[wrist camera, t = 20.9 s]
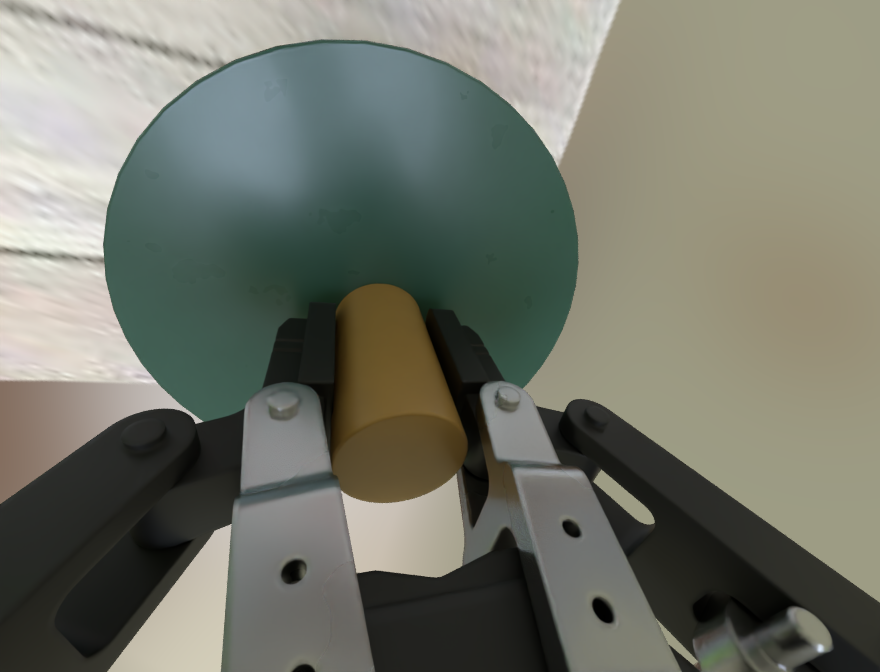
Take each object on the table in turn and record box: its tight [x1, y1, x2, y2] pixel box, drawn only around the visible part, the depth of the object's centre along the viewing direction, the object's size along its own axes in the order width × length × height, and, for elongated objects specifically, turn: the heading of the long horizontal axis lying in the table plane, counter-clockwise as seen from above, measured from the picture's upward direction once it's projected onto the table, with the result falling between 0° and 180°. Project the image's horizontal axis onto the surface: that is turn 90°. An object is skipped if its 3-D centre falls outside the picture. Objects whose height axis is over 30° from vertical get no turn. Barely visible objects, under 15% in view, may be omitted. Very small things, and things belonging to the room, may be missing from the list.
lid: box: [103, 39, 578, 503], centre depth 10 cm, size 14×14×7 cm
